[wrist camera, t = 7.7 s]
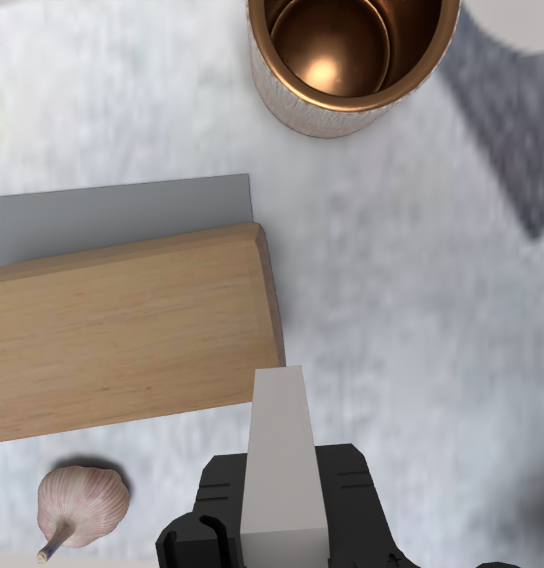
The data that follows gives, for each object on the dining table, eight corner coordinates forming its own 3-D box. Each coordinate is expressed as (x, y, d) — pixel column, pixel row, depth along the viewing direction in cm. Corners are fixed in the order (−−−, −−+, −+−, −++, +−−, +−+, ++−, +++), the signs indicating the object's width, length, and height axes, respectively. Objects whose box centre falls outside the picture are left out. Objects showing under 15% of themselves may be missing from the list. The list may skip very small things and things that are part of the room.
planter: (340, -65, 27) (377, -197, 18) (432, 70, 29) (508, 15, 20) (219, 48, 29) (196, -19, 20) (314, 170, 31) (334, 162, 22)
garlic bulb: (34, 478, 37) (-29, 556, 29) (91, 433, 36) (43, 500, 28) (93, 532, 38) (48, 620, 30) (150, 490, 37) (119, 569, 30)
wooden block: (284, 339, 33) (48, 378, 34) (263, 218, 31) (10, 262, 32) (290, 402, 24) (-41, 455, 24) (260, 232, 21) (-105, 295, 22)
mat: (247, 174, 31) (247, 173, 30) (267, 368, 34) (267, 371, 34) (-12, 198, 31) (-18, 198, 30) (34, 388, 35) (30, 391, 34)
